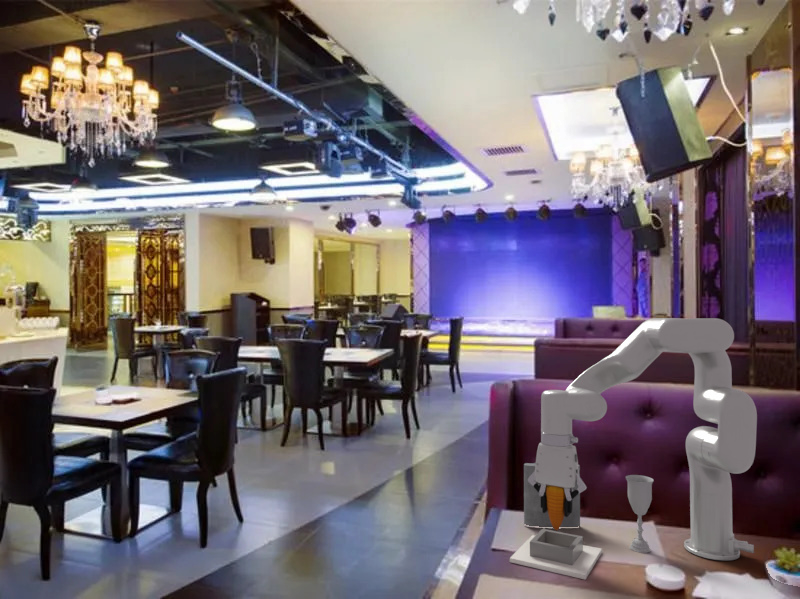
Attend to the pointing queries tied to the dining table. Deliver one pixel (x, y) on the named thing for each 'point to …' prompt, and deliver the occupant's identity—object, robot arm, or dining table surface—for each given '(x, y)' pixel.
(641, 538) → the chalice
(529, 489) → the hip flask
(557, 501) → the carrot
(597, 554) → the stand
